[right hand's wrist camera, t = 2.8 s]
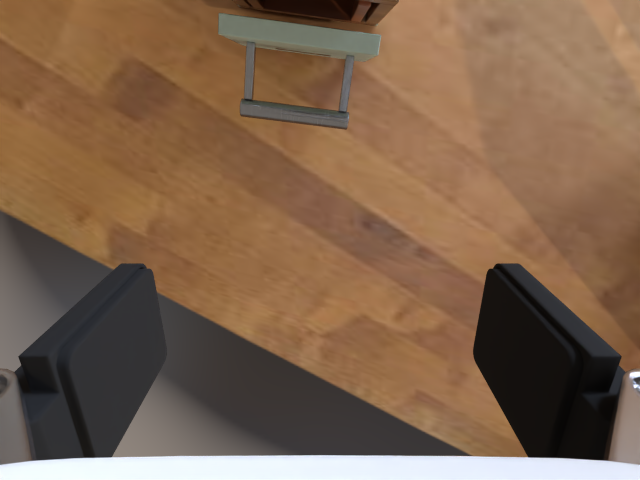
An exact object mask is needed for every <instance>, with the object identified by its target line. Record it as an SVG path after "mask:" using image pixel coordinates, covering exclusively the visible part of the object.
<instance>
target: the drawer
mask: <svg viewBox="0 0 640 480" xmlns="http://www.w3.org/2000/svg"><path fill="white" fill-rule="evenodd" d="M247 1H248V2H249V3H250V4H251V5H252V6H253V7H254V8H255V9H257V10H264V11H272V12H279V13H286V14H293V15H301V16H308V17H315V18H322V19H329V20H337V21H344V22H351V23H358V24H359V23H360V22H361V20H362V19H363V17H364V15H365V14H366V12H367V11H368V9H369V8H370V6H371V2H368V1H360V0H247ZM218 34H220V35H222V36H224V37H226V38H228V39H230V40H233V41H235V42H237V43H239V44H241V45H243V46H246V66H245V88H244V99H241V103H240V115H241V116H243V117H251V118H259V119H266V120H274V121H282V122H290V123H298V124H306V125H314V126H322V127H329V128H337V129H345V130H346V129H347V127H348V121H349V112H347V106H348V99H349V92H350V85H351V78H352V71H353V64H354V61H362V62H365V61H367V60H369V59H371V58H373V57H375V56H377V55H378V52H379V46H380V39H381V35H377V34H370V33H362V32H355V31H348V30H341V29H333V28H326V27H319V26H311V25H304V24H297V23H290V22H282V21H275V20H268V19H260V18H253V17H246V16H239V15H231V14H224V13H219V23H218ZM256 47H257V48H265V49H272V50H280V51H287V52H295V53H302V54H309V55H317V56H324V57H332V58H339V59H345V65H344V73H343V81H342V88H341V96H340V103H339V111H335V110H328V109H320V108H312V107H304V106H297V105H289V104H281V103H273V102H265V101H258V100H252V99H253V92H254V73H255V54H256Z"/></svg>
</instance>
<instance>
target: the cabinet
mask: <svg viewBox="0 0 640 480" xmlns="http://www.w3.org/2000/svg"><path fill="white" fill-rule="evenodd" d="M233 1H234V2H235V3H236V4H237V5H238V6H239V7H243V8H251V9H255V8H254V7H253V6H252V5H251V4H250V3H249V2H248V1H247V0H233ZM360 1H368V2H371V6H370V8H369V9H368V11H367V12H366V14H365V15H364V17H363V19H362V20H361V22H360V23H359V24H366V25H373V26H377V25H378V23H379V22H380V21H381V20H382V19H383V18H384V17H385V16H386V15H387V14H388V13H389V11H390V10H391V9H392V8H393V7H394V6H395V5H396V4H397V3H398V2H399V0H360Z"/></svg>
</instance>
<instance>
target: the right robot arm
mask: <svg viewBox="0 0 640 480" xmlns="http://www.w3.org/2000/svg"><path fill="white" fill-rule="evenodd" d="M166 355H167V348H166V342H165V336H164V331H163V325H162V320H161V314H160V308H159V303H158V297H157V292H156V286H155V281H154V275H153V272H152V270H151V269H147V268H146V266H145V265H144V264H120V265H119V266H118V267H117V268H115V269H114V270H113V271H112V272H111V273H110V274H109V275H108V276H107V277H106V278H104V279H103V280H102V281H101V282H100V283H99V284H98V285H97V286H96V287H95V288H93V289H92V290H91V291H90V292H89V293H88V294H87V295H86V296H85V297H83V298H82V299H81V300H80V301H79V302H78V303H77V304H76V305H75V306H74V307H72V308H71V309H70V310H69V311H68V312H67V313H66V314H65V315H64V316H63V317H61V318H60V319H59V320H58V321H57V322H56V323H55V324H54V325H53V326H52V327H50V328H49V329H48V330H47V331H46V332H45V333H44V334H43V335H42V336H40V337H39V338H38V339H37V340H36V341H35V342H34V343H33V344H32V345H31V346H30V347H28V348H27V349H26V350H25V351H24V352H23V353H22V354H21V355H20V356H19V360H20V362H21V366H20V367H19V368H18V369H17V370H16V371H15V372H13V371H10V370H8V369H0V480H640V369H632V370H629V371H627V372H625V371H624V370H623V369H622V368H621V367H620V366H619V362H620V360H621V357H622V356H620V355H619V354H618V353H617V352H616V351H615V350H614V349H613V348H612V347H611V346H609V345H608V344H607V343H606V342H605V341H604V340H603V339H602V338H601V337H600V336H598V335H597V334H596V333H595V332H594V331H593V330H592V329H591V328H590V327H588V326H587V325H586V324H585V323H584V322H583V321H582V320H581V319H580V318H579V317H577V316H576V315H575V314H574V313H573V312H572V311H571V310H570V309H569V308H568V307H566V306H565V305H564V304H563V303H562V302H561V301H560V300H559V299H558V298H557V297H555V296H554V295H553V294H552V293H551V292H550V291H549V290H548V289H547V288H546V287H544V286H543V285H542V284H541V283H540V282H539V281H538V280H537V279H536V278H534V277H533V276H532V275H531V274H530V273H529V272H528V271H527V270H526V269H525V268H523V267H522V266H521V265H520V264H496V265H495V266H494V268H493V269H489V270H488V272H487V275H486V281H485V286H484V292H483V297H482V303H481V308H480V314H479V320H478V325H477V331H476V336H475V342H474V348H473V355H474V359H475V362H476V364H477V366H478V368H479V369H480V371H481V373H482V375H483V377H484V378H485V380H486V382H487V384H488V386H489V387H490V389H491V391H492V393H493V394H494V396H495V398H496V400H497V402H498V403H499V405H500V407H501V409H502V411H503V412H504V414H505V416H506V418H507V420H508V421H509V423H510V425H511V427H512V429H513V430H514V432H515V434H516V436H517V438H518V439H519V441H520V443H521V445H522V447H523V448H524V450H525V452H526V454H527V456H528V457H529V458H527V457H476V456H323V455H322V456H321V455H316V456H164V457H114V458H111V457H112V456H113V454H114V452H115V450H116V448H117V446H118V445H119V443H120V441H121V439H122V438H123V436H124V434H125V432H126V430H127V429H128V427H129V425H130V423H131V421H132V420H133V418H134V416H135V414H136V412H137V411H138V409H139V407H140V405H141V403H142V402H143V400H144V398H145V396H146V394H147V393H148V391H149V389H150V387H151V386H152V384H153V382H154V380H155V378H156V376H157V375H158V373H159V371H160V369H161V368H162V366H163V364H164V362H165V359H166Z"/></svg>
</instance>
